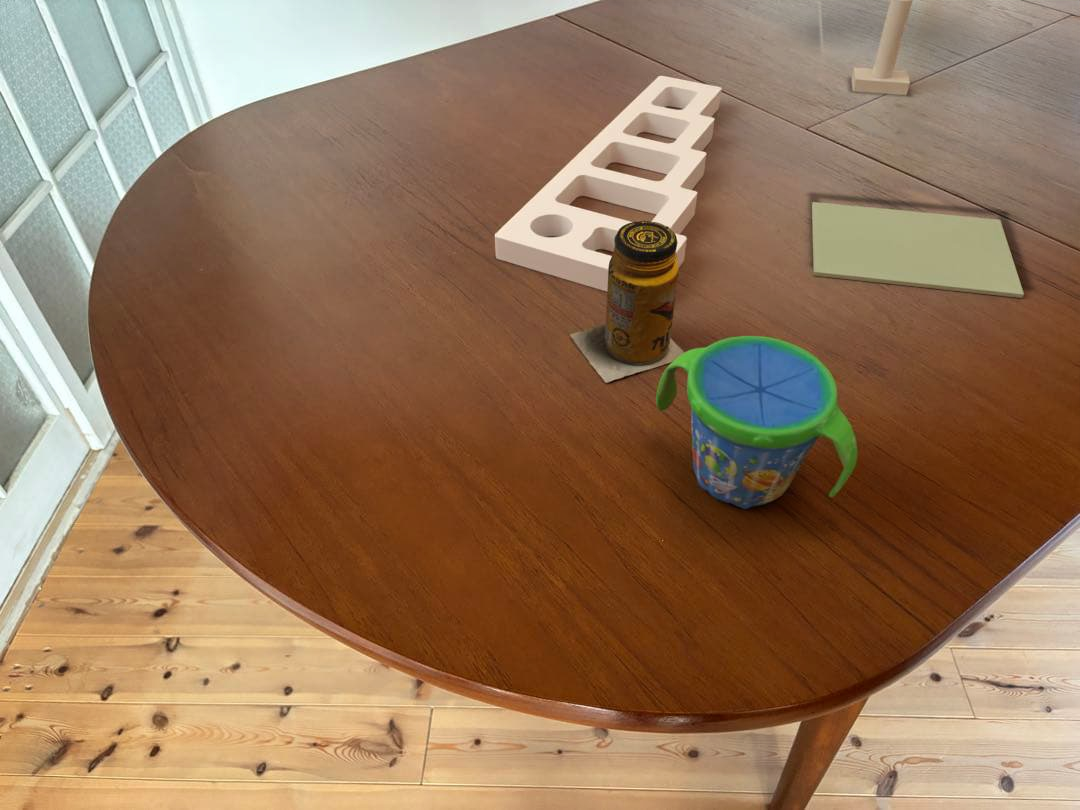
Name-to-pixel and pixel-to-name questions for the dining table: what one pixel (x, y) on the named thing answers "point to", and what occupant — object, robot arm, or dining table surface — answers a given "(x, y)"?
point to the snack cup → (757, 416)
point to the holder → (617, 185)
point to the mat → (913, 249)
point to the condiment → (636, 304)
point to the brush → (886, 56)
